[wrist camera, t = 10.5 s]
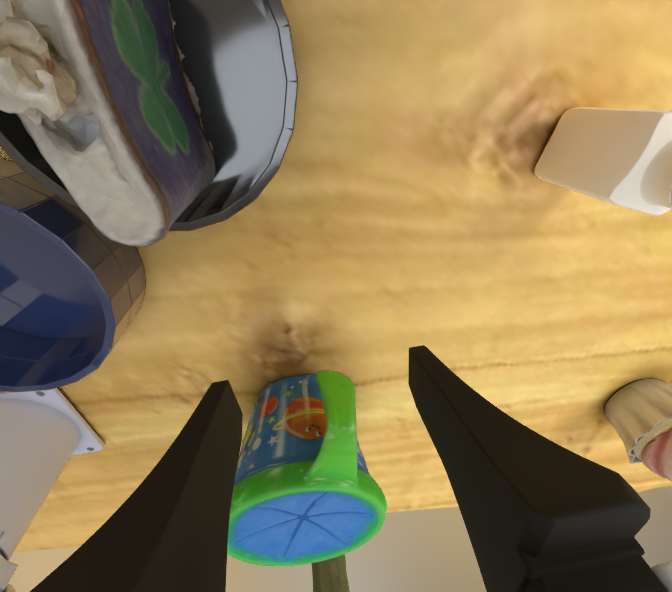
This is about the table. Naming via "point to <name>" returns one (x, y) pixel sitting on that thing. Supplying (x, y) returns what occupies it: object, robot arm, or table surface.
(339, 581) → the vegetable
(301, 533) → the snack cup
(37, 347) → the indigo bowl
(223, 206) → the charcoal bowl
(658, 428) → the cupcake
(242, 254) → the table surface
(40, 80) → the flask
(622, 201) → the pepper shaker
